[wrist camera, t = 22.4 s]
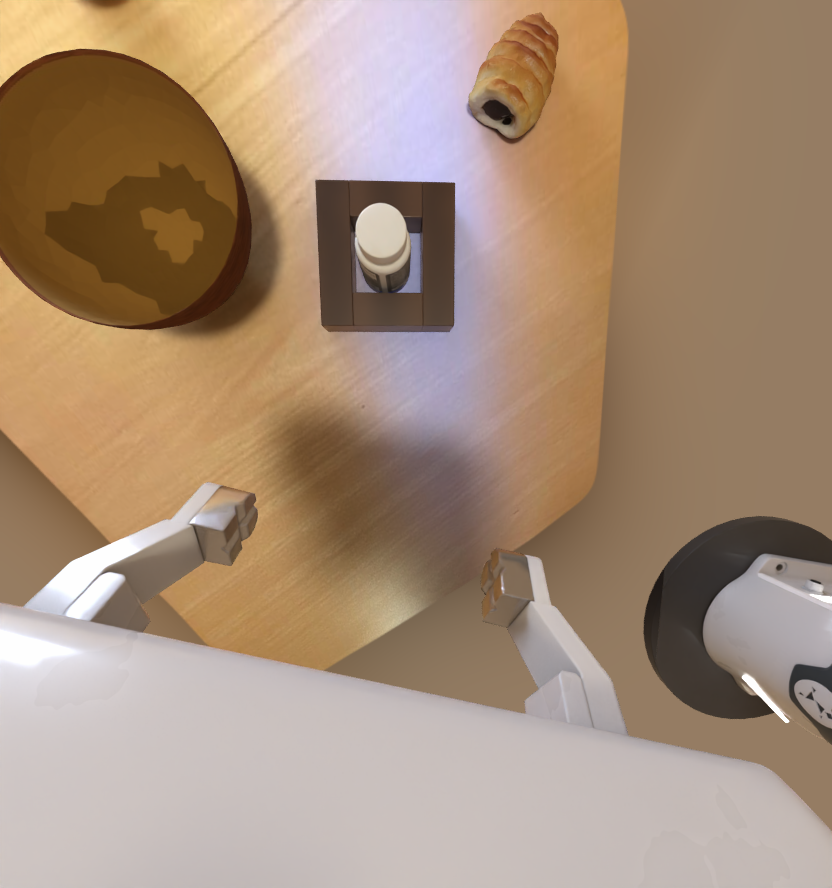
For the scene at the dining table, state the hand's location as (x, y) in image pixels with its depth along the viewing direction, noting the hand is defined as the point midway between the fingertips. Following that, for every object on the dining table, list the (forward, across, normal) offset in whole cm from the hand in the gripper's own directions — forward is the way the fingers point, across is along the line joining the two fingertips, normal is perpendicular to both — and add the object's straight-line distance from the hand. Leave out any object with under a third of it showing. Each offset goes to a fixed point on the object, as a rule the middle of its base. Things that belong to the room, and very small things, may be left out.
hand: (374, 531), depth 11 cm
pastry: (+40, -2, -18) cm, 44 cm away
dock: (+30, +5, -2) cm, 31 cm away
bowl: (+28, +24, +1) cm, 37 cm away
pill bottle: (+30, +6, -2) cm, 31 cm away
